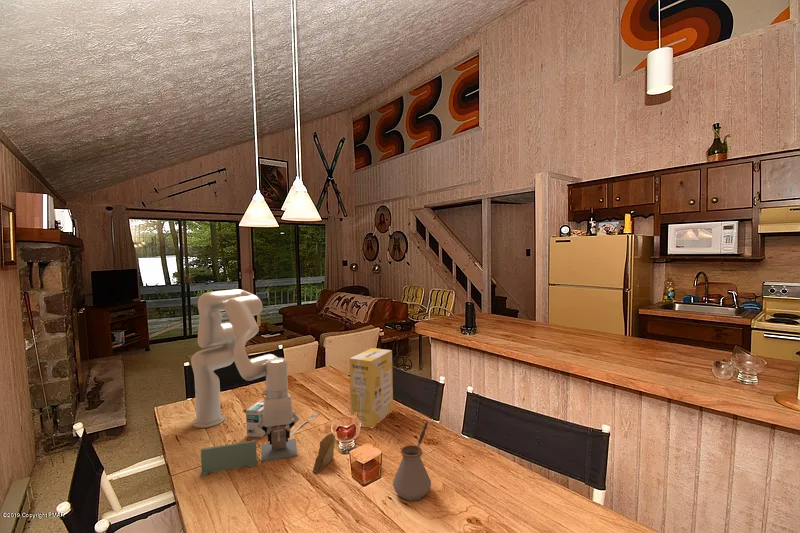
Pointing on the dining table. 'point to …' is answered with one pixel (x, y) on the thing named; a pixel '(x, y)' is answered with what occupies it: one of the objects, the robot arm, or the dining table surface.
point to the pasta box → (371, 385)
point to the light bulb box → (255, 419)
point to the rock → (325, 453)
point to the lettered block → (278, 436)
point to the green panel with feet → (228, 457)
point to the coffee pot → (412, 472)
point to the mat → (279, 451)
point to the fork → (304, 422)
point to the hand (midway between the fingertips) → (279, 441)
